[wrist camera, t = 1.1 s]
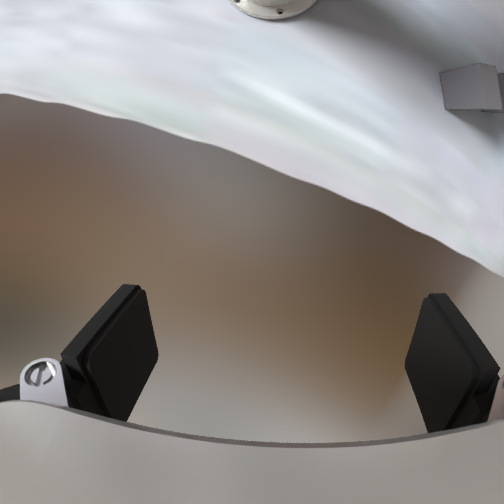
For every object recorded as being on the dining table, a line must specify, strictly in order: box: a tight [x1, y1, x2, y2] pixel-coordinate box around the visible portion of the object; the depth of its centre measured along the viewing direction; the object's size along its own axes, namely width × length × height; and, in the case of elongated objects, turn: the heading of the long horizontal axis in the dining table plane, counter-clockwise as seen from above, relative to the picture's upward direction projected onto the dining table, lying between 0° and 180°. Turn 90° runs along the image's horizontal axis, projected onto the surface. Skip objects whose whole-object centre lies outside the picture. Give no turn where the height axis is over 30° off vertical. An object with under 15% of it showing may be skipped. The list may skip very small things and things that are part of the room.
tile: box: [439, 63, 502, 110], centre depth 26 cm, size 3×5×10 cm, turn 10°
